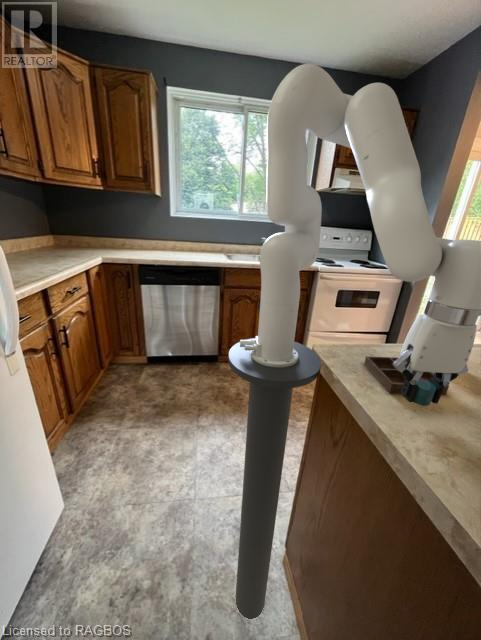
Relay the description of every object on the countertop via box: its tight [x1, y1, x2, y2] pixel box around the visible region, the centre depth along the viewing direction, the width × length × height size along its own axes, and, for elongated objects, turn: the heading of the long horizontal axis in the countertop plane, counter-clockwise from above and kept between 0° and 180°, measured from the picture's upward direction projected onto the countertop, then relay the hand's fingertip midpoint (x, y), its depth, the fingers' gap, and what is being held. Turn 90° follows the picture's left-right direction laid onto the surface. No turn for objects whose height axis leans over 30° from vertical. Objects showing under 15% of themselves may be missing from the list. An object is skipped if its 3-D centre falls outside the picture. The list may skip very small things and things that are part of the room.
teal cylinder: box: [412, 379, 436, 407], centre depth 54 cm, size 4×4×4 cm
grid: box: [363, 356, 450, 396], centre depth 67 cm, size 13×13×2 cm
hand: (418, 397), depth 54 cm, fingers closed on teal cylinder, 4 cm apart
